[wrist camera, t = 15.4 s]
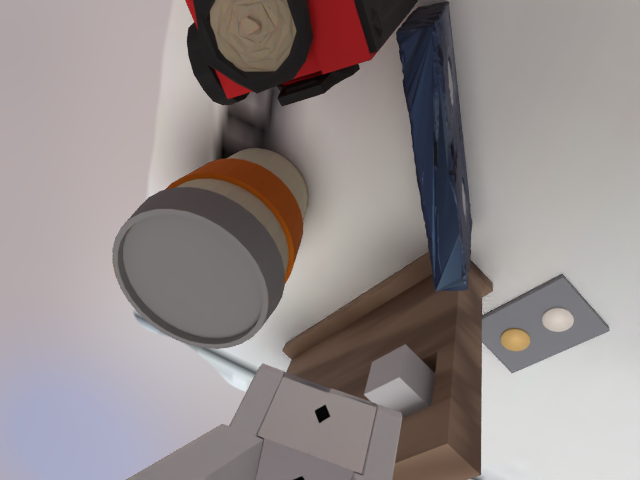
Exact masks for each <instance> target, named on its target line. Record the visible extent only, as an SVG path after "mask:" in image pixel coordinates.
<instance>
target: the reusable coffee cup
mask: <svg viewBox="0 0 640 480" xmlns="http://www.w3.org/2000/svg"><path fill="white" fill-rule="evenodd" d="M307 205H308V192H307V187H306V184H305V182H304V179H303V177H302V176H301V174H300V172H299V171H298V170H297V168H296V167H295V166H294V165H293V164H292V163H291V162H290V161H288V160H287V159H286V158H285V157H283V156H281V155H280V154H278V153H276V152H273V151H270V150H267V149H261V148H248V149H245V150H241V151H239V152H237V153H235V154H233V155H232V156H230V157H228V158H226V159H219V160H216V161H212V162H209V163H208V164H206V165H204V166H202V167H200V168H198V169H197V170H195V171H193V172H191V173H189V174H188V175H186V176H184V177H182V178H180V179H179V180H177V181H175V182H173V183H172V184H170V185H169V186H168V187H167V188H166V189H165V190H163V191H160V192H158V193H156V194H155V195H153V196H151V197H149V198H148V199H147V200H146V201H145V202H144V203H143V204H142V205H141V206H140V207H139V208H138V209H137V211H135V213H134V214H133V215H132V216H131V218H129V219H128V221H127V222H126V223H125V224H124V225H123V226H122V227H121V229H120V231H119V233H118V234H117V236H116V238H115V242H114V247H113V266H114V271H115V275H116V278H117V280H118V283H119V285H120V288H121V289H122V291H123V293H124V294H125V296H126V298H127V299H128V301H129V302H130V303H131V305H132V306H133V307H134V308H135V309H136V311H137V312H138V313H139V314H140V315H141V316H142V317H143V318H145V319H146V320H147V321H148V322H149V323H150V324H151V325H153V326H154V327H156V328H157V329H158V330H160V331H161V332H163V333H165V334H167V335H168V336H170V337H172V338H174V339H176V340H179V341H181V342H184V343H187V344H189V345H194V346H198V347H202V348H215V349H219V348H228V347H232V346H236V345H239V344H242V343H244V342H245V341H247V340H249V339H250V338H252V337H253V336H254V335H255V334H256V333H257V332H258V331H259V330H260V328H261V327H262V326H263V324H264V323H265V322H266V320H267V319H268V318H269V316H270V315H271V314H272V312H273V311H274V310H275V309H276V307H277V305H278V303H279V301H280V300H281V298H282V294H283V290H284V286H285V283H286V282H287V280H288V278H289V276H290V274H291V271H292V268H293V265H294V262H295V259H296V256H297V253H298V249H299V246H300V243H301V239H302V235H303V219H304V216H305V213H306V209H307Z"/></svg>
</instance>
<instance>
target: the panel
mask: <svg viewBox="0 0 640 480" xmlns="http://www.w3.org/2000/svg"><path fill="white" fill-rule="evenodd" d="M492 291H493V285H492V282H491V281H490V280H489V279H488V278H487V277H486V276H485V275H484V274H483V273H482V272H481V271H480V269H479V268H478V267H477V266H476V265H475V264H474V263H473V262H472V261H471V260H470V266H469V273H468V289H467V290H462V291H441V290H440V291H436V292H435V288H434V285H433V273H432V265H431V261H430V252H428V253H427V254H425V255H423V256H422V257H420V258H419V259H417V260H416V261H414V262H412V263H411V264H409V265H408V266H406V267H405V268H403V269H402V270H400V271H398V272H397V273H395V274H394V275H392V276H391V277H389V278H388V279H386V280H384V281H383V282H381V283H380V284H378V285H377V286H375V287H373V288H372V289H370V290H369V291H367V292H366V293H364V294H363V295H361V296H359V297H358V298H356V299H355V300H353V301H352V302H350V303H348V304H347V305H345V306H344V307H342V308H341V309H339V310H338V311H336V312H334V313H333V314H331V315H330V316H328V317H327V318H325V319H323V320H322V321H320V322H319V323H317V324H316V325H314V326H313V327H311V328H309V329H308V330H306V331H305V332H303V333H302V334H300V335H299V336H297V337H295V338H294V339H292V340H291V341H289V342H288V343H286V344H285V346H284V348H283V352H284V353H285V354H286V355H287V356H288V357H290V358H291V359H292V361H291V363H290V365H289V367H288V370H287V372H288V373H290V374H293V375H295V376H298V377H301V378H303V379H306V380H309V381H311V382H314V383H317V384H319V385H322V386H324V387H327V388H330V389H331V388H332V389H335V390H338V391H341V392H344V393H347V394H350V395H353V396H356V397H359V398H362V399H365V400H368V401H370V400H369V399H368V398H367V397H366V396H365V395H364V392H365V388H366V385H367V381H368V377H369V373H370V369H371V365H372V362H373V361H375V360H377V359H379V358H381V357H382V356H384V355H386V354H388V353H390V352H392V351H394V350H395V349H397V348H399V347H401V346H403V345H405V344H406V345H407V346H408V347H409V348H410V349H411V350H412V351H413V352H414V353H415V354H416V355H417V356H418V357H419V358H420V359H421V360H422V361H423V362H424V363H425V364H426V365H427V366H428V367H429V368H430V369H431V370H432V371H433V372H434V373H435V380H434V389H433V398H432V405H431V406H428V407H426V408H424V409H422V410H419V411H417V412H415V413H412V414H410V415H408V416H406V417H403V418H402V423H401V429H400V435H399V441H398V447H397V454H396V460H395V466H394V472H393V478H392V480H468V479H471V478H474V477H477V476H480V475H481V378H482V297H483V296H485V295H487V294H488V293H490V292H492Z"/></svg>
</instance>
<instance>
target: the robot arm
mask: <svg viewBox="0 0 640 480" xmlns="http://www.w3.org/2000/svg"><path fill="white" fill-rule="evenodd" d="M401 423H402V413H401V412H398V411H395V410H393V409H390V408H387V407H384V406H381V405H377V403H374V402H371V401H368V400H365V399H362V398H359V397H356V396H353V395H350V394H347V393H344V392H341V391H338V390H335V389H332V388H331V389H330V388H327V387H324V386H322V385H319V384H317V383H314V382H311V381H309V380H306V379H303V378H301V377H298V376H295V375H293V374H290V373H288V372H284V371H282V370H279V369H276V368H274V367H271V366H268V365H265V364H262V365H261V366H260V367H259V369H258V370H257V372H256V374H255V376H254V378H253V380H252V382H251V384H250V386H249V388H248V390H247V392H246V394H245V396H244V398H243V400H242V402H241V404H240V406H239V408H238V410H237V412H236V414H235V416H234V417H233V419H232V422H231V423H230V425H229V426H226V425H224V424H221V425H220V426H218V427H216V428H214V429H213V430H211V431H209V432H207V433H206V434H204V435H202V436H201V437H199V438H197V439H196V440H194V441H192V442H190V443H189V444H187V445H185V446H183V447H182V448H180V449H178V450H176V451H175V452H173V453H171V454H170V455H168V456H166V457H164V458H163V459H161V460H159V461H158V462H156V463H154V464H152V465H151V466H149V467H147V468H145V469H144V470H142V471H140V472H139V473H137V474H135V475H134V476H132V477H130V478H128V479H126V480H392V478H393V472H394V466H395V460H396V454H397V447H398V441H399V435H400V429H401Z"/></svg>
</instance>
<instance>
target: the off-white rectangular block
mask: <svg viewBox="0 0 640 480" xmlns="http://www.w3.org/2000/svg"><path fill="white" fill-rule="evenodd" d="M434 380H435V373H434V372H433V371H432V370H431V369H430V368H429V367H428V366H427V365H426V364H425V363H424V362H423V361H422V360H421V359H420V358H419V357H418V356H417V355H416V354H415V353H414V352H413V351H412V350H411V349H410V348H409V347H408V346H407V345H406V344H405V345H403V346H401V347H399V348H397V349H395V350H394V351H392V352H390V353H388V354H386V355H384V356H382V357H381V358H379V359H377V360H375V361H373V362H372V365H371V369H370V373H369V377H368V381H367V385H366V388H365V392H364V395H365V396H366V397H367V398H368V399H369V400H370V401H371V402H374V403H377V405H381V406H384V407H387V408H390V409H393V410H395V411H398V412H401V413H402V418H403V417H406V416H408V415H410V414H412V413H415V412H417V411H419V410H422V409H424V408H426V407H428V406H431V405H432V398H433V389H434Z"/></svg>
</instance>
